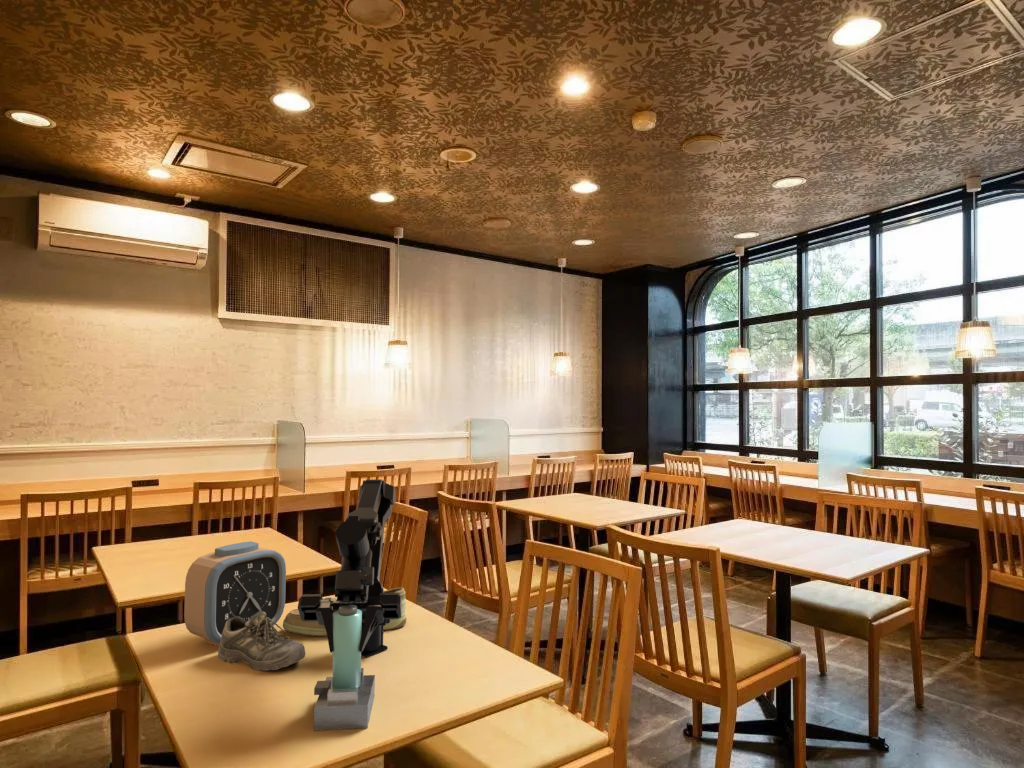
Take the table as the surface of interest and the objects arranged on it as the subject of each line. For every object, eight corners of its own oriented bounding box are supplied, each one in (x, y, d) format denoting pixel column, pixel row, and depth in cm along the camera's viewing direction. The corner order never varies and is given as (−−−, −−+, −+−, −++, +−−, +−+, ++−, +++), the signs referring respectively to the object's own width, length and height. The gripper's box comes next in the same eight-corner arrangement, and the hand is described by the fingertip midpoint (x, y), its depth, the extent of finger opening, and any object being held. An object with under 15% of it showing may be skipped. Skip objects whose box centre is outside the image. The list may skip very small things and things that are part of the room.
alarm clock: (208, 656, 140) (210, 557, 140) (183, 646, 145) (185, 551, 145) (285, 628, 157) (287, 540, 158) (261, 621, 162) (263, 536, 163)
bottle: (341, 677, 118) (342, 601, 119) (365, 681, 117) (367, 604, 117) (326, 689, 114) (328, 610, 114) (351, 693, 112) (353, 613, 113)
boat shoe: (283, 626, 159) (284, 589, 159) (402, 615, 168) (403, 580, 168) (281, 642, 149) (282, 602, 149) (408, 630, 158) (409, 592, 158)
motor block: (321, 698, 121) (322, 667, 121) (374, 696, 122) (375, 665, 122) (308, 730, 109) (309, 696, 109) (367, 728, 110) (368, 694, 110)
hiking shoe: (283, 669, 128) (298, 608, 135) (200, 666, 135) (217, 608, 141) (309, 676, 136) (321, 618, 142) (229, 673, 142) (244, 617, 148)
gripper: (300, 551, 119) (285, 632, 108) (401, 550, 121) (396, 629, 110) (308, 581, 127) (295, 660, 115) (403, 579, 129) (399, 657, 117)
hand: (345, 651), depth 114 cm, fingers closed on bottle, 5 cm apart
